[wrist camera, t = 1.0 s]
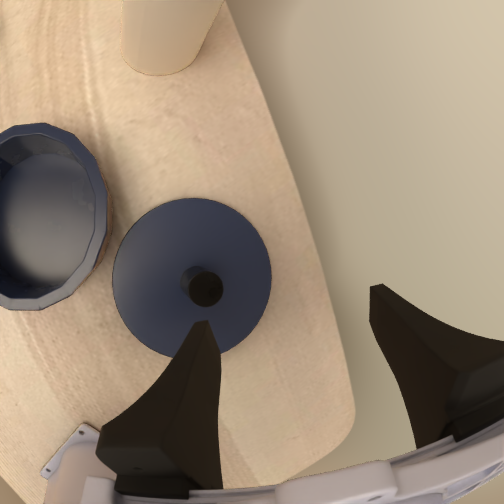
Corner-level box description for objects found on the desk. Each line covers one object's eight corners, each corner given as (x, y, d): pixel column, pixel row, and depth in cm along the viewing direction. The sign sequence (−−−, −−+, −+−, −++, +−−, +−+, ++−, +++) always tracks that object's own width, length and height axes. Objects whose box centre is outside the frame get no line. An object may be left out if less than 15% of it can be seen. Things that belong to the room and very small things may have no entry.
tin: (49, 325, 21) (30, 347, 16) (-39, 223, 17) (-72, 221, 12) (143, 216, 23) (146, 211, 18) (51, 117, 20) (35, 90, 15)
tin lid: (197, 382, 25) (211, 408, 21) (80, 283, 22) (70, 294, 17) (293, 274, 28) (322, 281, 24) (192, 166, 24) (206, 152, 20)
